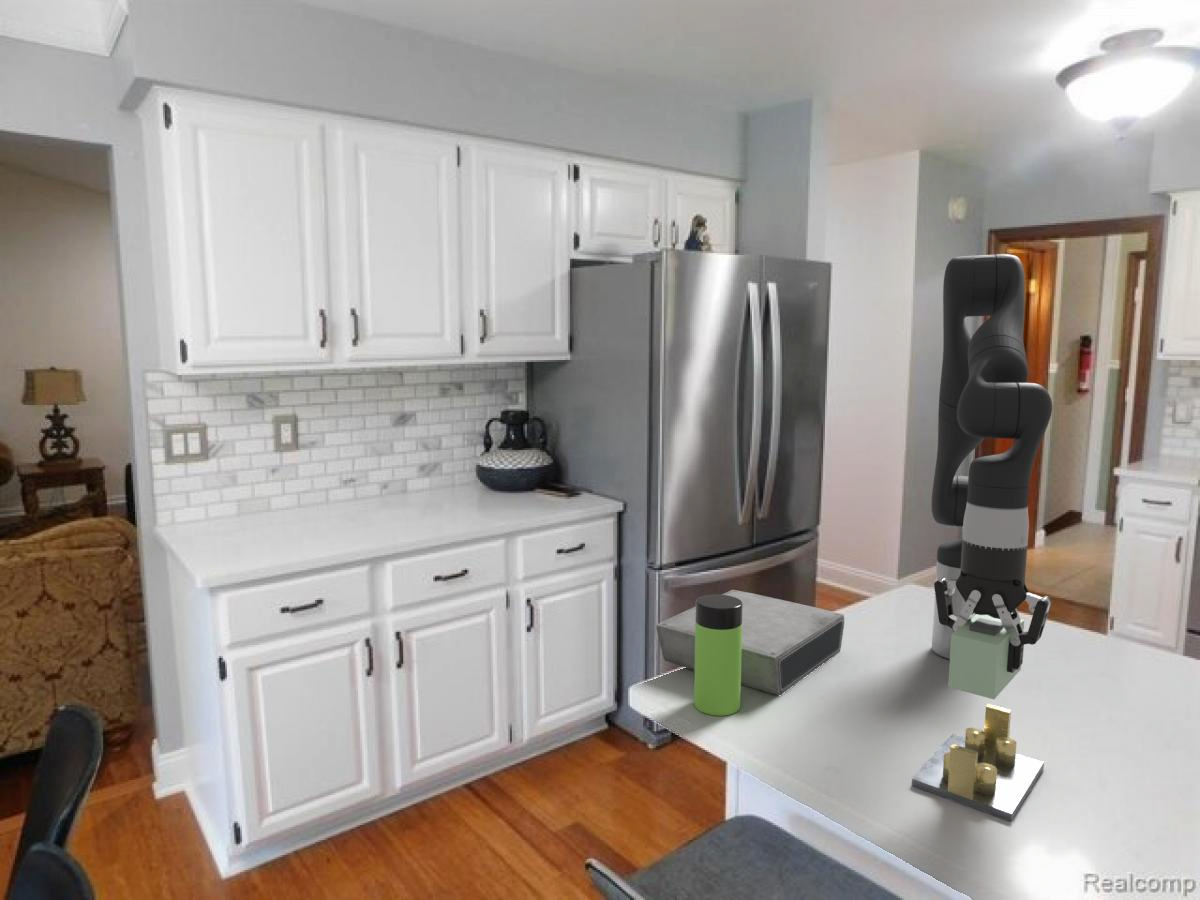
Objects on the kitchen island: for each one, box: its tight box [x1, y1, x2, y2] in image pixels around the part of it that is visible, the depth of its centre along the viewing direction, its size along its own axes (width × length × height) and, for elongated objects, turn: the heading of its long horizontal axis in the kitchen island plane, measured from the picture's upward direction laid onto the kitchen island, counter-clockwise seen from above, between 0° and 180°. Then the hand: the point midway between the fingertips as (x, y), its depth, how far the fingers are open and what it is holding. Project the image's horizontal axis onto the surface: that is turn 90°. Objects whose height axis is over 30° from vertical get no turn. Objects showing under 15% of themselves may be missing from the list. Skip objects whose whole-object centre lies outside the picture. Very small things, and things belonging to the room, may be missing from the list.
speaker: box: [655, 589, 845, 696], centre depth 148 cm, size 24×8×30 cm
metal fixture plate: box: [911, 703, 1045, 822], centre depth 107 cm, size 16×12×7 cm
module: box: [947, 614, 1025, 700], centre depth 105 cm, size 12×6×8 cm, turn 139°
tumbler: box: [693, 593, 743, 717], centre depth 127 cm, size 8×8×17 cm
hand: (986, 663), depth 105 cm, fingers closed on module, 5 cm apart
